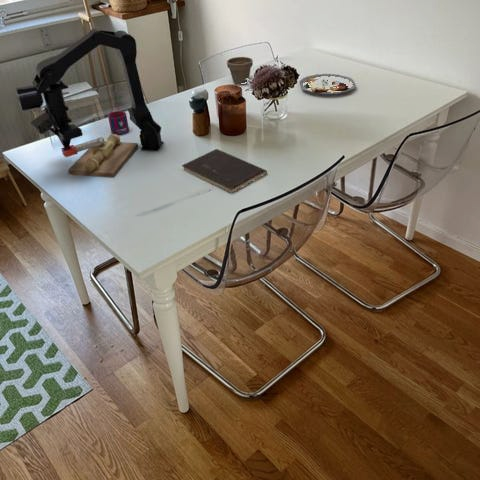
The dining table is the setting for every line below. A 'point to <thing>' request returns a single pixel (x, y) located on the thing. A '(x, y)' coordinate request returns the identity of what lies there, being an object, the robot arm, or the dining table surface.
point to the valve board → (105, 164)
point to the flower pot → (240, 68)
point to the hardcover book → (224, 170)
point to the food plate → (318, 90)
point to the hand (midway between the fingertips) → (66, 149)
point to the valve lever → (81, 147)
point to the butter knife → (198, 193)
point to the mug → (118, 122)
